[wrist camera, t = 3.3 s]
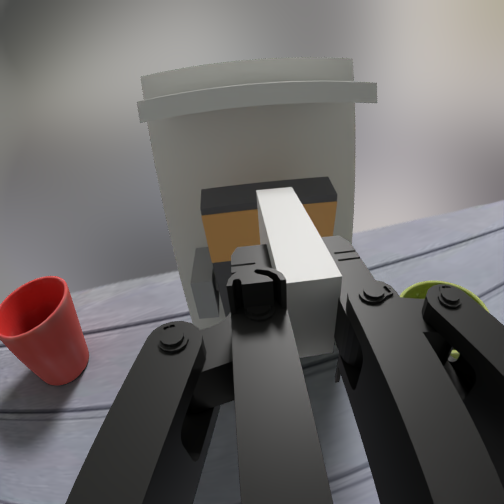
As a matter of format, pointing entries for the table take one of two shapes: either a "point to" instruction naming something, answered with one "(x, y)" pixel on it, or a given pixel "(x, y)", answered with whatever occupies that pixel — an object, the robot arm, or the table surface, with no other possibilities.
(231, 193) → the breaker switch
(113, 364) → the table surface
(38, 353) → the flower pot
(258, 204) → the robot arm
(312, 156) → the box
